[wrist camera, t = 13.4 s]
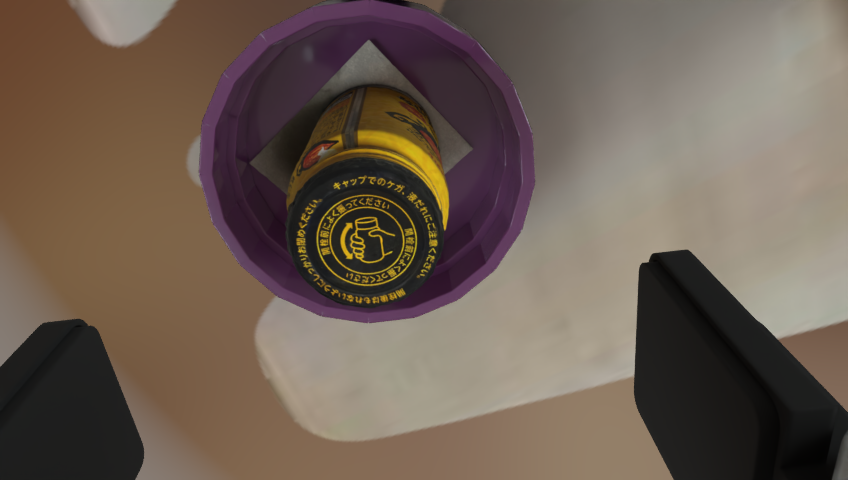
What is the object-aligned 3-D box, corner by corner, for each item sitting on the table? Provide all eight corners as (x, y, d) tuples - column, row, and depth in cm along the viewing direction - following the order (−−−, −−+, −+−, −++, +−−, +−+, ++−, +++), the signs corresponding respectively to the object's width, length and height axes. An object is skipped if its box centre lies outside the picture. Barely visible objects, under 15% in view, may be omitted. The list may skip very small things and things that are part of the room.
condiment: (473, 147, 31) (512, 245, 20) (356, 254, 34) (334, 395, 23) (368, 38, 29) (350, 82, 18) (250, 161, 31) (169, 267, 20)
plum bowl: (195, 16, 29) (157, 26, 24) (505, -23, 29) (525, -21, 24) (264, 289, 35) (243, 338, 30) (522, 258, 34) (541, 303, 30)
